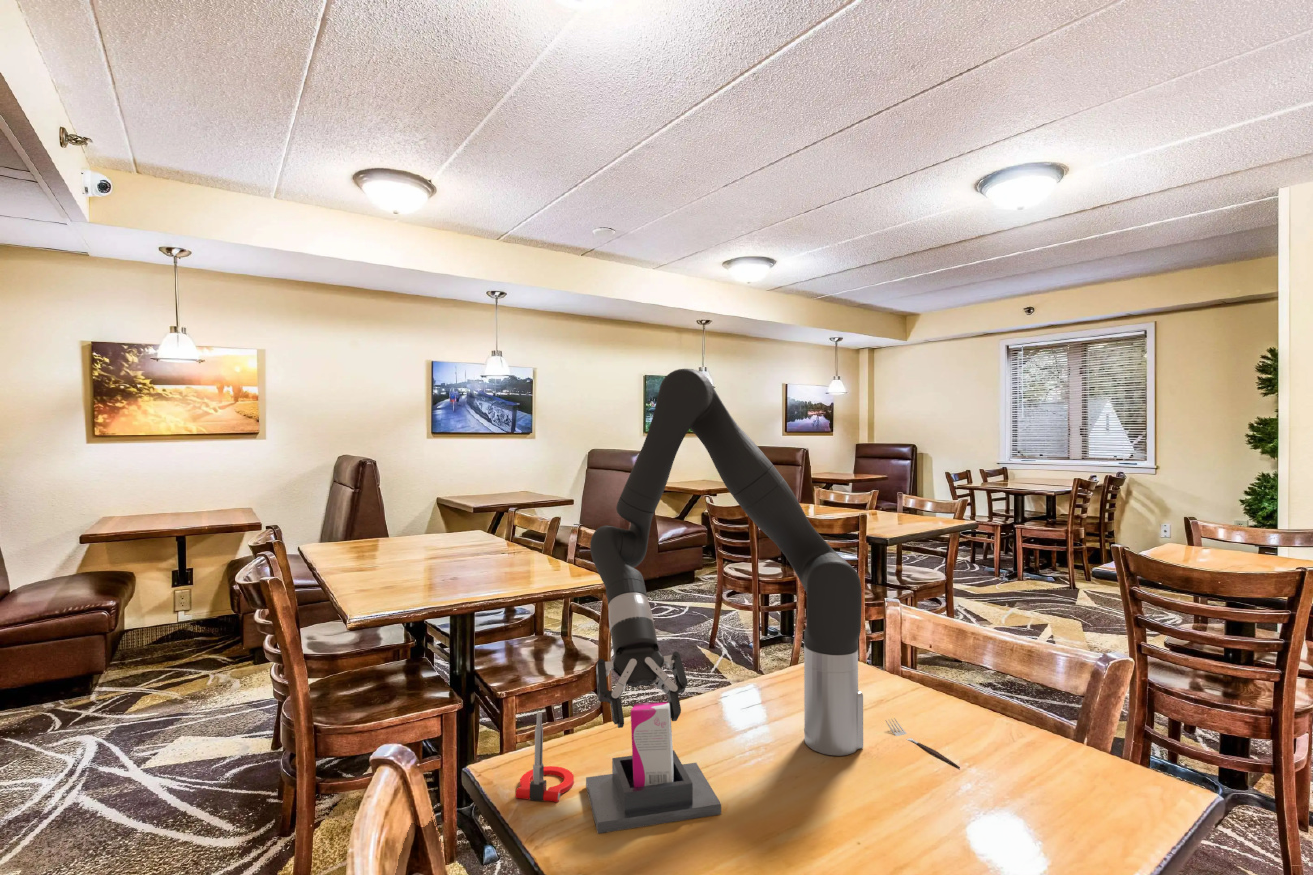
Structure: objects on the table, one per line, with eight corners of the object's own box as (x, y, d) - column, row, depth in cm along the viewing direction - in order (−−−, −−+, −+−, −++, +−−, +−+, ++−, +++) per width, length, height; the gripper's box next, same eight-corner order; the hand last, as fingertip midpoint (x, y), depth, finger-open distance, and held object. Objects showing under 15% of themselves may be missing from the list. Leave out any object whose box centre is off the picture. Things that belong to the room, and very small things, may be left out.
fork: (953, 772, 104) (953, 760, 104) (884, 730, 119) (884, 720, 119) (965, 769, 105) (965, 757, 105) (895, 728, 120) (895, 717, 120)
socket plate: (696, 771, 104) (696, 744, 104) (721, 814, 92) (721, 783, 92) (586, 786, 100) (585, 758, 100) (597, 833, 88) (597, 800, 88)
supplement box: (674, 779, 98) (671, 700, 101) (672, 792, 93) (668, 708, 95) (637, 780, 99) (634, 701, 101) (632, 793, 93) (630, 709, 95)
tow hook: (530, 771, 105) (509, 800, 96) (532, 691, 106) (510, 713, 97) (580, 775, 104) (563, 805, 95) (581, 694, 105) (564, 716, 95)
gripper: (592, 618, 105) (605, 718, 93) (676, 611, 108) (698, 707, 97) (588, 640, 110) (600, 737, 99) (668, 633, 113) (688, 726, 102)
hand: (648, 722), depth 98 cm, fingers open, 8 cm apart
